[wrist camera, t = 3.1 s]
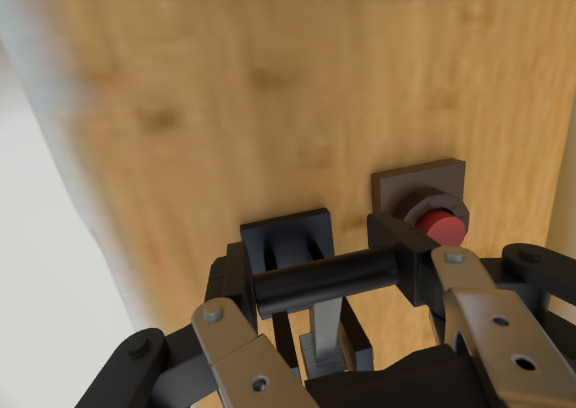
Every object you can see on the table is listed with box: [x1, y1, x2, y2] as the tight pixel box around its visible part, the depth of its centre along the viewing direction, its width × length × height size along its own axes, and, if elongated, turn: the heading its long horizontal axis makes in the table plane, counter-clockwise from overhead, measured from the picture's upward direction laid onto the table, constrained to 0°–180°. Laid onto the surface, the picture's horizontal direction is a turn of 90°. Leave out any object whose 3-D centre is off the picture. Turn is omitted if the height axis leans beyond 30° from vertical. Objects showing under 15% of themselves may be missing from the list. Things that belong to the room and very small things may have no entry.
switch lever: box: [253, 245, 400, 380], centre depth 14 cm, size 12×5×2 cm, turn 10°
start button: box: [415, 209, 465, 247], centre depth 23 cm, size 4×4×2 cm
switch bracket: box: [240, 208, 374, 383], centre depth 21 cm, size 10×8×13 cm
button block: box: [371, 158, 469, 235], centre depth 26 cm, size 10×8×4 cm
